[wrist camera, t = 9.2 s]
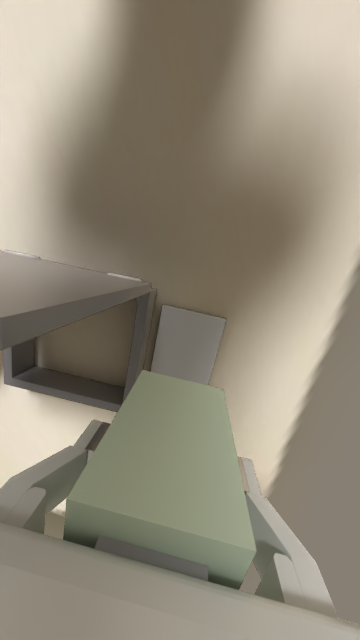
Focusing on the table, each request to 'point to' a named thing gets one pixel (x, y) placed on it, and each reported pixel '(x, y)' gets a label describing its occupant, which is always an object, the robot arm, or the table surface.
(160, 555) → the block
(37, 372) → the case
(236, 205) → the table surface
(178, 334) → the pad
